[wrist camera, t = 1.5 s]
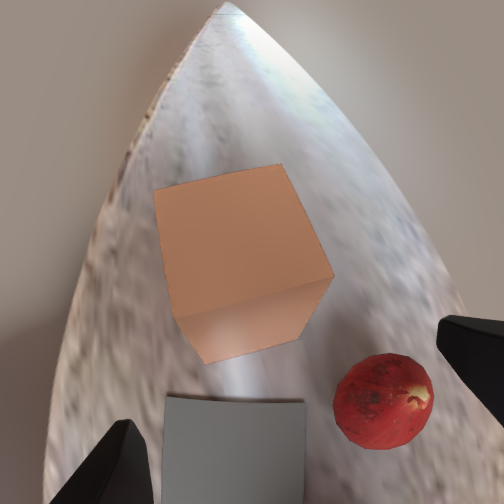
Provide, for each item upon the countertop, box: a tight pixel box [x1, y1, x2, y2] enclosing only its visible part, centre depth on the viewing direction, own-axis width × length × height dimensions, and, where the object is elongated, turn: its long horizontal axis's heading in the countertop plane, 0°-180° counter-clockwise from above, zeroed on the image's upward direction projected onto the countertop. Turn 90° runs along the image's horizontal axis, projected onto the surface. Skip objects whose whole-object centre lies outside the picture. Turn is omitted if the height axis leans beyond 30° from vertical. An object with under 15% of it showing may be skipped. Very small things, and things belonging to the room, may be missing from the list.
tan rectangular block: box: [153, 164, 335, 364], centre depth 17 cm, size 6×6×10 cm
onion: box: [333, 353, 434, 450], centre depth 15 cm, size 6×6×8 cm
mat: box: [162, 397, 305, 504], centre depth 16 cm, size 9×9×1 cm
